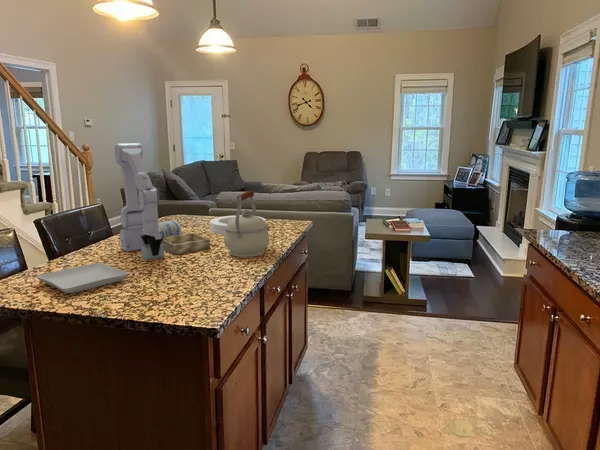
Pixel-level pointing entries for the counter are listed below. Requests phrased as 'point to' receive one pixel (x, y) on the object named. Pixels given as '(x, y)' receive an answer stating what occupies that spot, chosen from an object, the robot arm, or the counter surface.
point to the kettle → (246, 231)
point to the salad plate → (83, 277)
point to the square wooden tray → (185, 243)
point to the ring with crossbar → (221, 224)
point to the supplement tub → (169, 228)
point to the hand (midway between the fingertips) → (152, 253)
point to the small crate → (148, 253)
